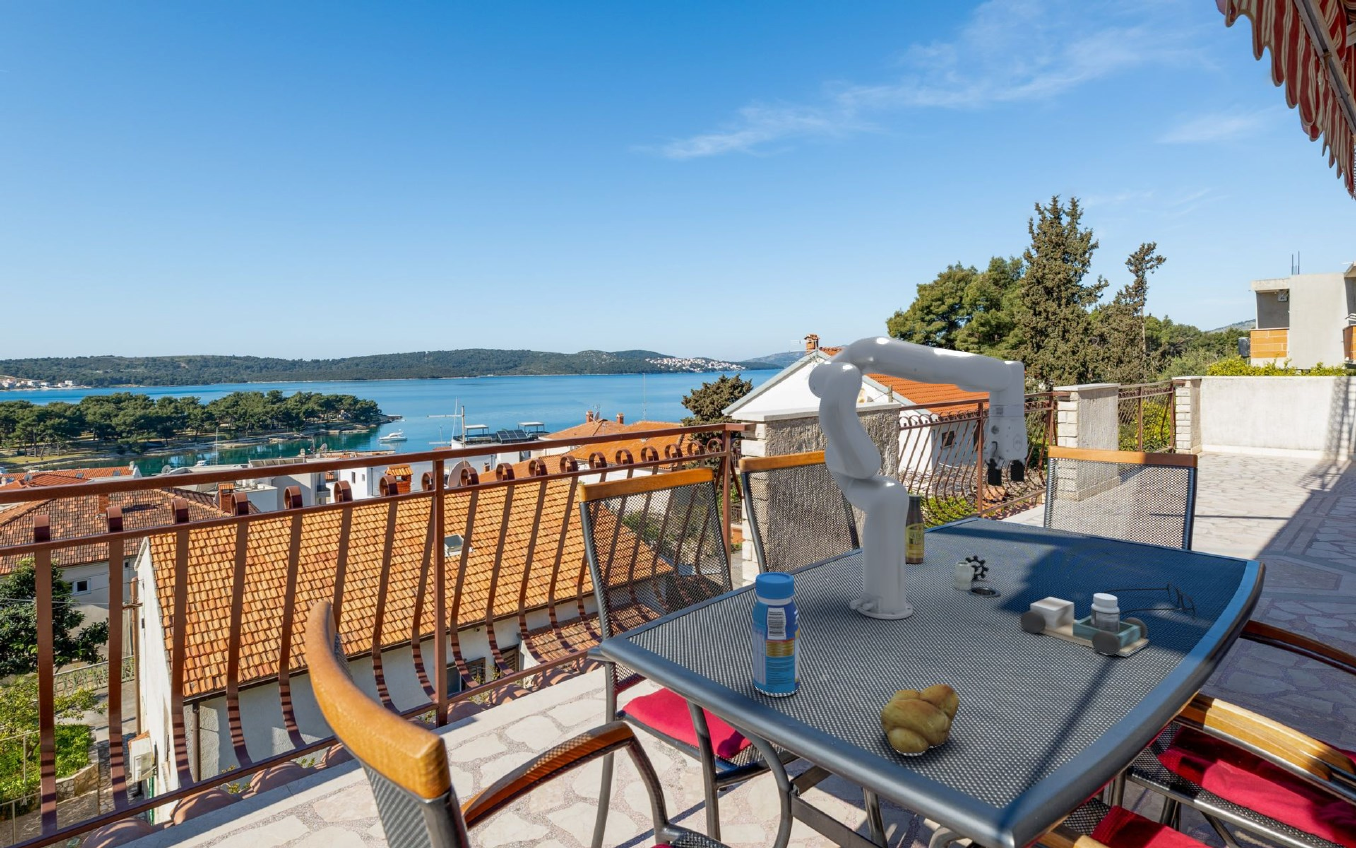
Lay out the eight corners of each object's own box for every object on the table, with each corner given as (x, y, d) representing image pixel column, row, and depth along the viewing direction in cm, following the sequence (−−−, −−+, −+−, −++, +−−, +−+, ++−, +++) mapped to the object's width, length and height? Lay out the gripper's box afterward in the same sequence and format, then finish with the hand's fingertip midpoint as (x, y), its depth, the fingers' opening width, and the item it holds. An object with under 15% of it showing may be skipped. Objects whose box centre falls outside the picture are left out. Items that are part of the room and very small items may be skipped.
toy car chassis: (1121, 660, 121) (1122, 633, 121) (1016, 628, 138) (1016, 604, 137) (1152, 643, 128) (1152, 618, 128) (1049, 615, 145) (1049, 592, 144)
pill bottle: (1092, 631, 132) (1093, 590, 132) (1120, 636, 129) (1121, 595, 129) (1088, 638, 129) (1089, 597, 128) (1117, 644, 126) (1118, 601, 125)
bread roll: (924, 773, 88) (924, 716, 88) (861, 745, 95) (861, 693, 95) (964, 736, 97) (964, 684, 96) (904, 713, 104) (903, 665, 103)
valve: (973, 593, 161) (989, 581, 170) (973, 567, 161) (989, 557, 170) (947, 588, 166) (963, 577, 175) (946, 562, 166) (963, 553, 174)
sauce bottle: (910, 565, 187) (909, 497, 186) (897, 559, 193) (896, 494, 192) (929, 563, 188) (929, 496, 187) (916, 557, 194) (915, 492, 193)
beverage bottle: (742, 688, 114) (740, 577, 113) (771, 672, 120) (769, 567, 118) (781, 704, 108) (779, 587, 107) (810, 687, 114) (808, 576, 112)
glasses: (1197, 623, 139) (1194, 600, 139) (1117, 624, 144) (1115, 602, 144) (1170, 601, 153) (1167, 580, 153) (1098, 603, 158) (1095, 583, 158)
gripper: (1001, 414, 146) (1000, 489, 147) (1041, 411, 156) (1040, 481, 157) (970, 413, 152) (970, 485, 153) (1011, 410, 162) (1010, 478, 163)
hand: (1006, 483), depth 155 cm, fingers open, 9 cm apart
